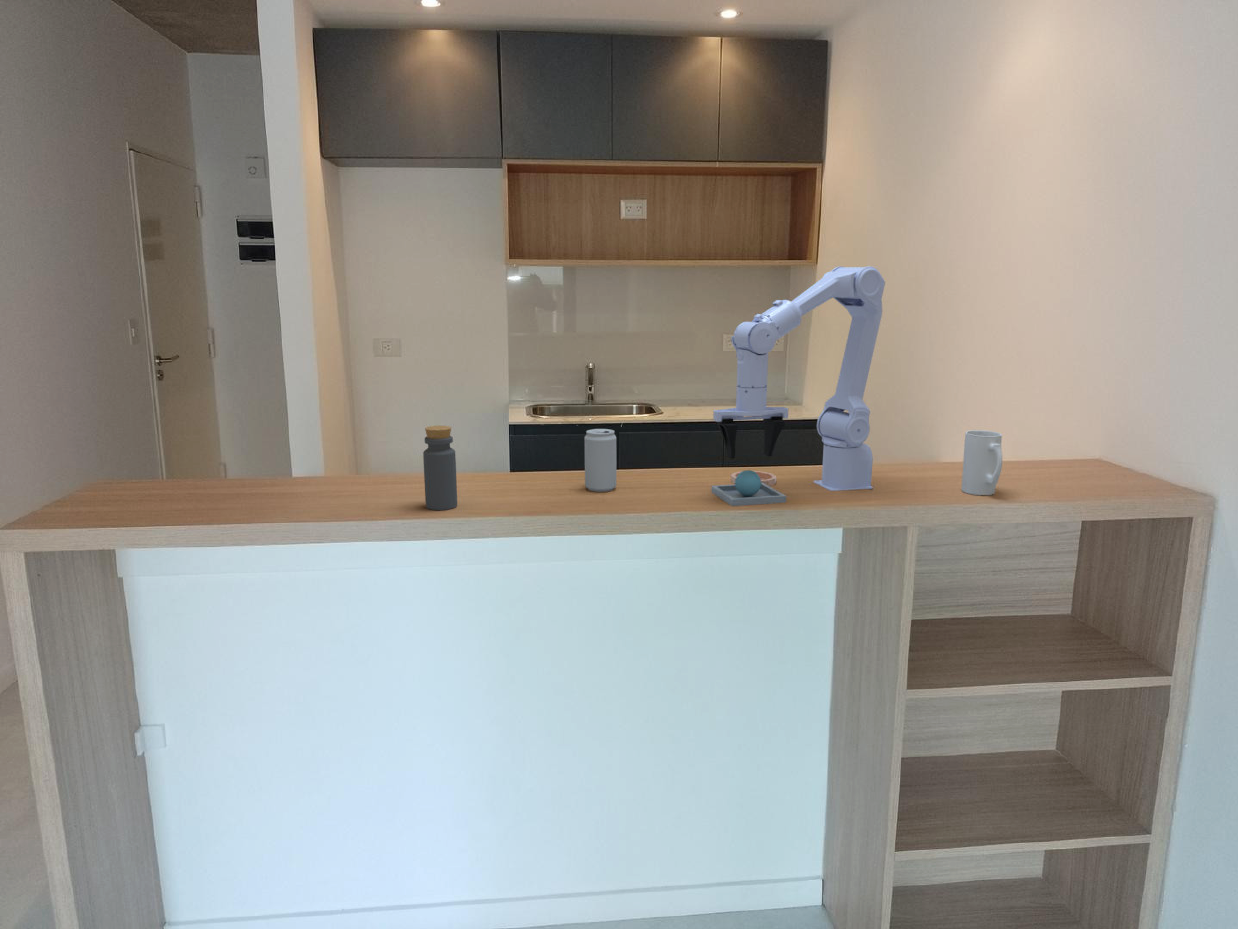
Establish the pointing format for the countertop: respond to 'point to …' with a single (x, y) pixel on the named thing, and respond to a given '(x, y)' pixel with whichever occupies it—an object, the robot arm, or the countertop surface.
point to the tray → (736, 499)
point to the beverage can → (600, 460)
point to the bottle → (439, 469)
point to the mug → (981, 462)
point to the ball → (748, 483)
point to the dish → (764, 476)
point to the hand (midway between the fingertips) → (749, 456)
